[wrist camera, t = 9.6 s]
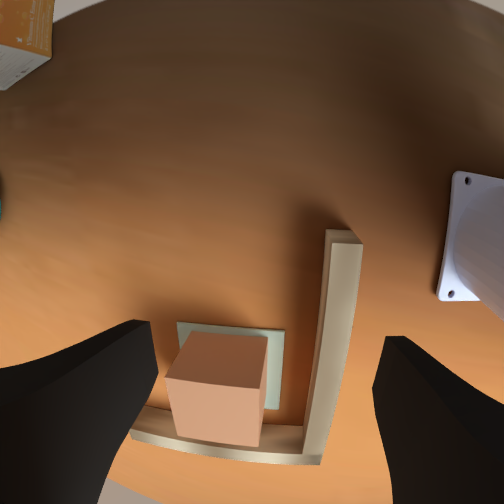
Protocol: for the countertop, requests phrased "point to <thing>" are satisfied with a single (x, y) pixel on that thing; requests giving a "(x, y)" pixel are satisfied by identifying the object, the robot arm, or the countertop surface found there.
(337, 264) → the l-shaped wall
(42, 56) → the small box
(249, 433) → the cube
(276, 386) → the pad
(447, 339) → the countertop surface
